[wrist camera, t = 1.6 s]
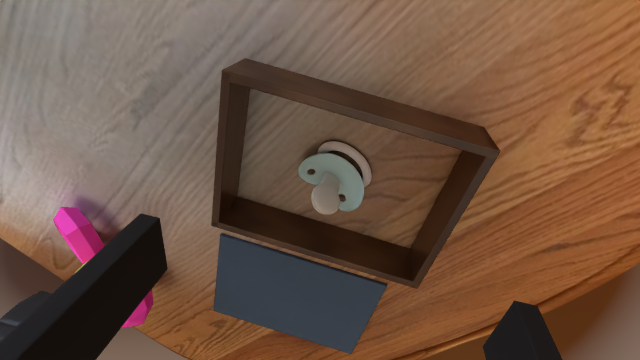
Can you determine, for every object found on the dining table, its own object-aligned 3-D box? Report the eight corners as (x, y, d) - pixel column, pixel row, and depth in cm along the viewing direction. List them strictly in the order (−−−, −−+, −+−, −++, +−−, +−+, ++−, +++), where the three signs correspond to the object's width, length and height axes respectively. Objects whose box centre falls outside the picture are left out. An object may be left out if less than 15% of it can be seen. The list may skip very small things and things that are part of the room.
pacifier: (333, 125, 32) (295, 164, 35) (324, 151, 26) (280, 195, 29) (385, 173, 33) (345, 206, 36) (386, 207, 28) (339, 243, 31)
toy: (105, 181, 42) (5, 224, 35) (185, 295, 42) (102, 358, 36) (103, 203, 50) (21, 242, 43) (171, 299, 50) (101, 351, 44)
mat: (214, 308, 50) (213, 310, 50) (221, 233, 42) (220, 235, 41) (351, 351, 50) (351, 354, 49) (386, 283, 41) (386, 286, 41)
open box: (230, 199, 39) (211, 226, 34) (245, 58, 30) (221, 69, 26) (414, 255, 38) (417, 289, 34) (484, 127, 29) (501, 151, 25)
